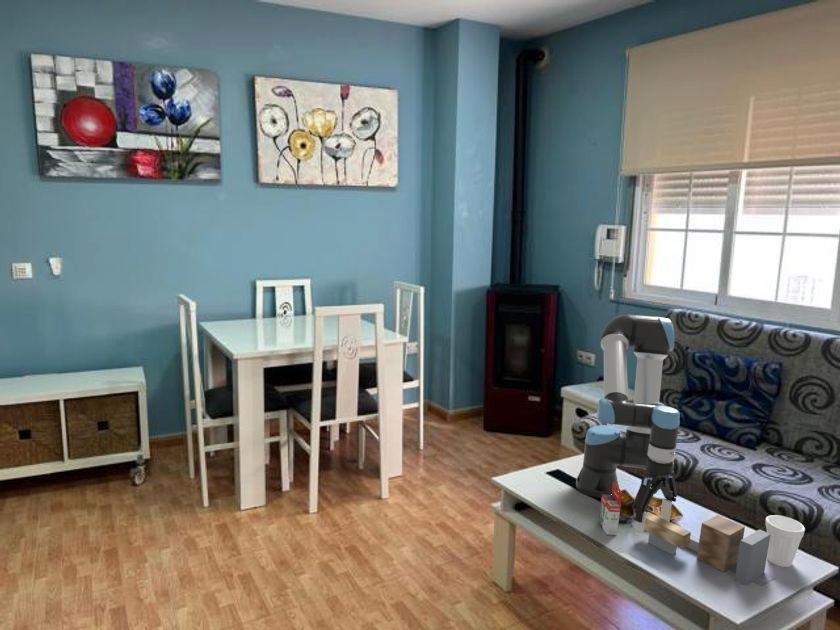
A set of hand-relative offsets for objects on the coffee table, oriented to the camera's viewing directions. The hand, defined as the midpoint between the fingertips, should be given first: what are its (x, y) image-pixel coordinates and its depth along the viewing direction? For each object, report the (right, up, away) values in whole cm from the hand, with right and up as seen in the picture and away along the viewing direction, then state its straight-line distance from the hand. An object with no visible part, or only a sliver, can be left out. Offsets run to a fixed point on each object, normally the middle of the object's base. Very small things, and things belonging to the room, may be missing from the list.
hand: (652, 525), depth 185 cm
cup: (+35, -10, -5) cm, 37 cm away
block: (+16, -8, -7) cm, 19 cm away
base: (+15, -8, -6) cm, 18 cm away
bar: (+2, -2, -3) cm, 4 cm away
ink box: (-11, -5, +10) cm, 15 cm away
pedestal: (+2, -7, -2) cm, 8 cm away
